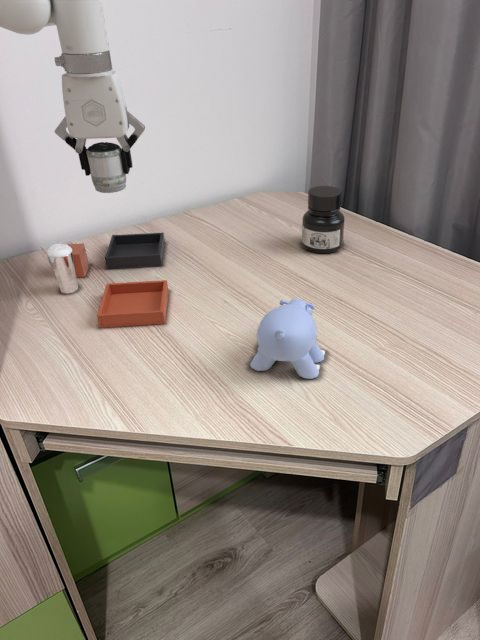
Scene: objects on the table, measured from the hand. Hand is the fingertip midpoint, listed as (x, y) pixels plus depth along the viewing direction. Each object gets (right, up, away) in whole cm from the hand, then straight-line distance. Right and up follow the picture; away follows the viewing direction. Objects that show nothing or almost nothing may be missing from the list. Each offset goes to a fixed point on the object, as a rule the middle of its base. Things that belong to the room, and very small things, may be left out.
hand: (108, 171), depth 100 cm
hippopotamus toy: (+33, -34, -14) cm, 49 cm away
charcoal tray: (+2, -13, +15) cm, 20 cm away
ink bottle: (+42, -10, +18) cm, 47 cm away
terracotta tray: (+6, -26, -2) cm, 26 cm away
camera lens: (0, -3, +2) cm, 3 cm away
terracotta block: (-10, -17, +10) cm, 22 cm away
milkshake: (-9, -22, +4) cm, 24 cm away
